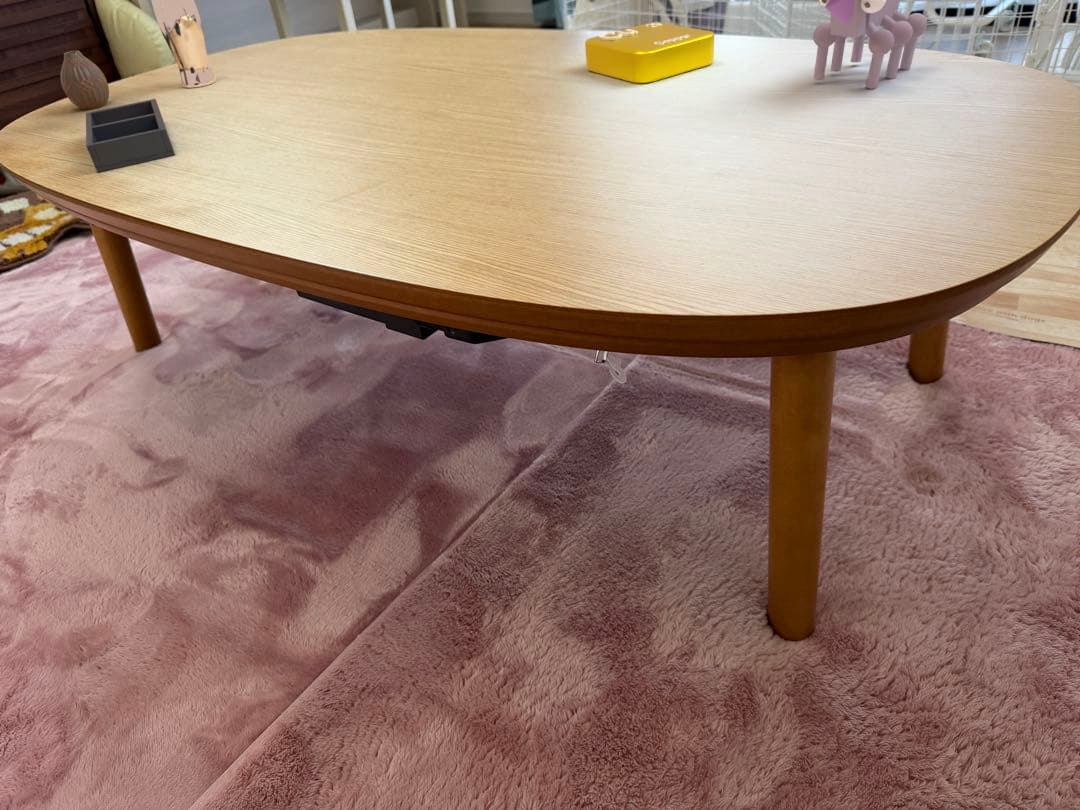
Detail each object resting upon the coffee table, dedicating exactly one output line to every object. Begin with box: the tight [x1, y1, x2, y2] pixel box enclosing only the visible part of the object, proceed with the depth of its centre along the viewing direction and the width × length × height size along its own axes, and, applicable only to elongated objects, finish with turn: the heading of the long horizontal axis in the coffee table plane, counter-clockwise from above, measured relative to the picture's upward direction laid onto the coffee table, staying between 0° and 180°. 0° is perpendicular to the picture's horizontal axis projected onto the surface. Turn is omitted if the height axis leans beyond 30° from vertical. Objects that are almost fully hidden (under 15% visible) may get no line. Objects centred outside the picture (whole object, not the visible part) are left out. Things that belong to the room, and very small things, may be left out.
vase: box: [59, 50, 110, 110], centre depth 136 cm, size 7×7×9 cm
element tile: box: [584, 21, 715, 84], centre depth 123 cm, size 15×15×5 cm
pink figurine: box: [812, 0, 928, 90], centre depth 103 cm, size 20×11×14 cm, turn 135°
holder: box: [85, 98, 176, 173], centre depth 116 cm, size 10×19×4 cm, turn 26°
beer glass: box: [150, 0, 218, 89], centre depth 140 cm, size 7×7×15 cm
